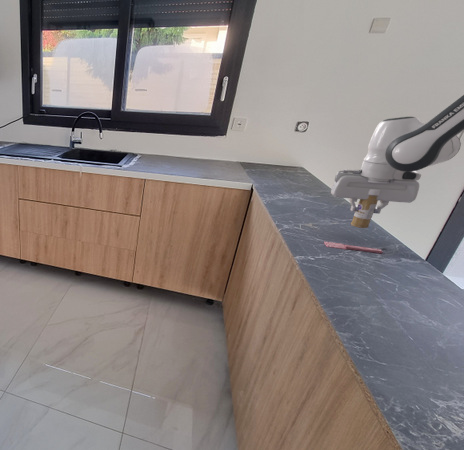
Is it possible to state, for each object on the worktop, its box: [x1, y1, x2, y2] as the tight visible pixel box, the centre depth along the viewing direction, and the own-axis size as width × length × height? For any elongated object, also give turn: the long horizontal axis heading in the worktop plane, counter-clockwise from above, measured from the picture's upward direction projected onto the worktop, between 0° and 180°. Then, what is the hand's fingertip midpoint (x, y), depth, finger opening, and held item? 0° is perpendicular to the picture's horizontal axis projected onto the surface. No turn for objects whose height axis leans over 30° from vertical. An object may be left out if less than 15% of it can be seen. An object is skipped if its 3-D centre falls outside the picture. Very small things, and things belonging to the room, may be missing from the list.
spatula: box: [323, 241, 383, 255], centre depth 99 cm, size 14×4×1 cm, turn 65°
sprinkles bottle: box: [350, 189, 381, 229], centre depth 102 cm, size 5×5×13 cm
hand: (364, 212), depth 103 cm, fingers closed on sprinkles bottle, 4 cm apart
